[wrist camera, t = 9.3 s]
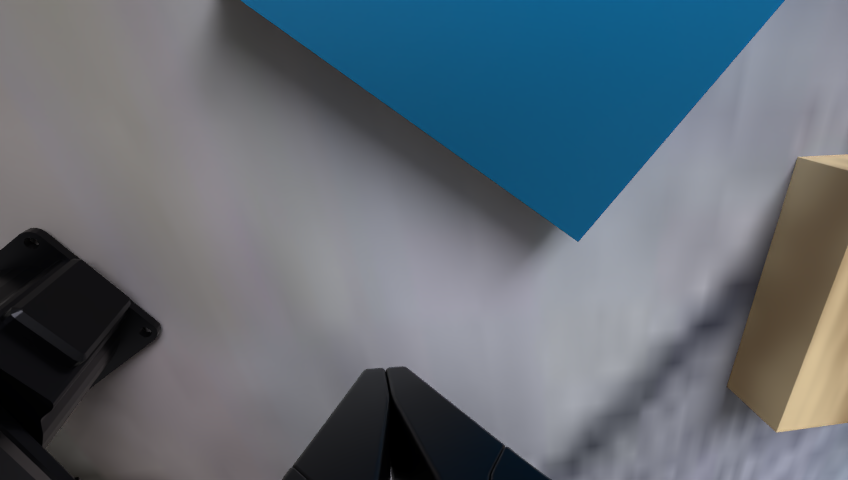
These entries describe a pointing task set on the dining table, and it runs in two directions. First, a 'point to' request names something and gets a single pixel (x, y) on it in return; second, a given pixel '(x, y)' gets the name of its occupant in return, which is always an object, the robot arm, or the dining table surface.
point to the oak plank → (801, 307)
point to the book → (534, 80)
